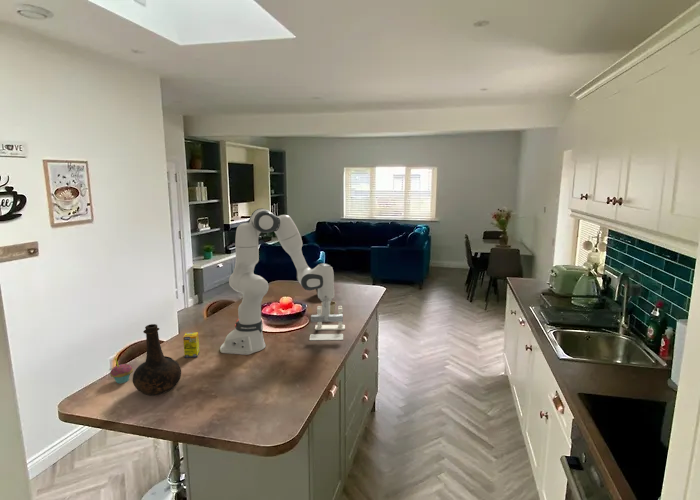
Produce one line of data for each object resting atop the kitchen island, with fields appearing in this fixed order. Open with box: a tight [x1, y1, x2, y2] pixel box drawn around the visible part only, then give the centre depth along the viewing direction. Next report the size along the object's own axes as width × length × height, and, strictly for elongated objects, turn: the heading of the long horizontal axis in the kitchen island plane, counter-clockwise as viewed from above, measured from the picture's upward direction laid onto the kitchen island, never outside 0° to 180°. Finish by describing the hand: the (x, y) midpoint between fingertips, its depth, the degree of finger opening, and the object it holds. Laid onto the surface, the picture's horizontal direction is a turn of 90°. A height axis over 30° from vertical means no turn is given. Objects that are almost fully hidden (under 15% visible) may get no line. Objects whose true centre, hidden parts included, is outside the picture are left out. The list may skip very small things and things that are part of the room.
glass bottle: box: [132, 323, 182, 396], centre depth 169 cm, size 18×18×28 cm
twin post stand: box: [314, 305, 346, 331], centre depth 238 cm, size 17×6×12 cm, turn 91°
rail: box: [310, 313, 344, 323], centre depth 223 cm, size 17×3×3 cm, turn 91°
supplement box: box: [182, 331, 200, 359], centre depth 203 cm, size 6×6×11 cm
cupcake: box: [109, 357, 134, 385], centre depth 178 cm, size 9×8×12 cm
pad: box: [309, 333, 344, 341], centre depth 225 cm, size 18×8×1 cm, turn 91°
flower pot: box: [320, 300, 337, 315], centre depth 258 cm, size 9×9×9 cm
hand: (326, 318), depth 223 cm, fingers closed on rail, 3 cm apart
